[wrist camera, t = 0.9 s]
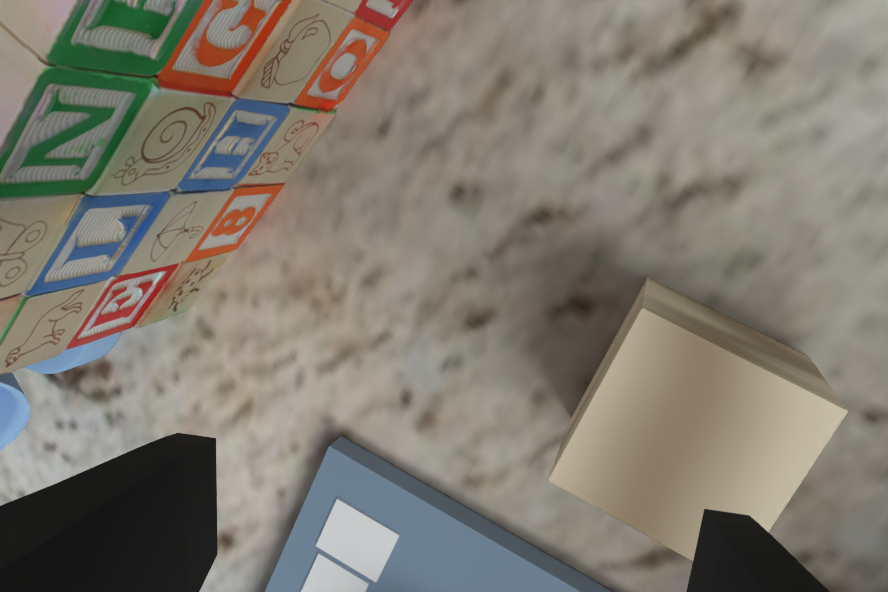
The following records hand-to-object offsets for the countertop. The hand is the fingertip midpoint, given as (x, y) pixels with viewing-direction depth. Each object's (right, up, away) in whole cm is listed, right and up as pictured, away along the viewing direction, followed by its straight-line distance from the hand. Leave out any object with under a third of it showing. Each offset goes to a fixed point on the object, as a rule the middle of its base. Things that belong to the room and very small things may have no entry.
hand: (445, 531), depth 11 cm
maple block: (+7, +1, +12) cm, 14 cm away
